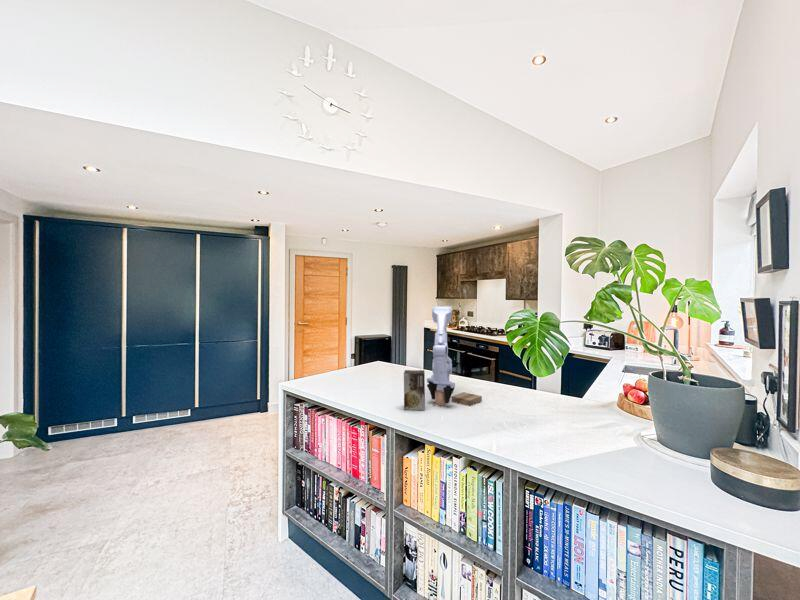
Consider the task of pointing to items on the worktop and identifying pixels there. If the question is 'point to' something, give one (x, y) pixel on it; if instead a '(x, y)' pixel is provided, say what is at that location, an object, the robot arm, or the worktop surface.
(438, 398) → the terracotta cylinder
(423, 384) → the coffee box
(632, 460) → the worktop surface
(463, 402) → the walnut base
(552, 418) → the worktop surface
